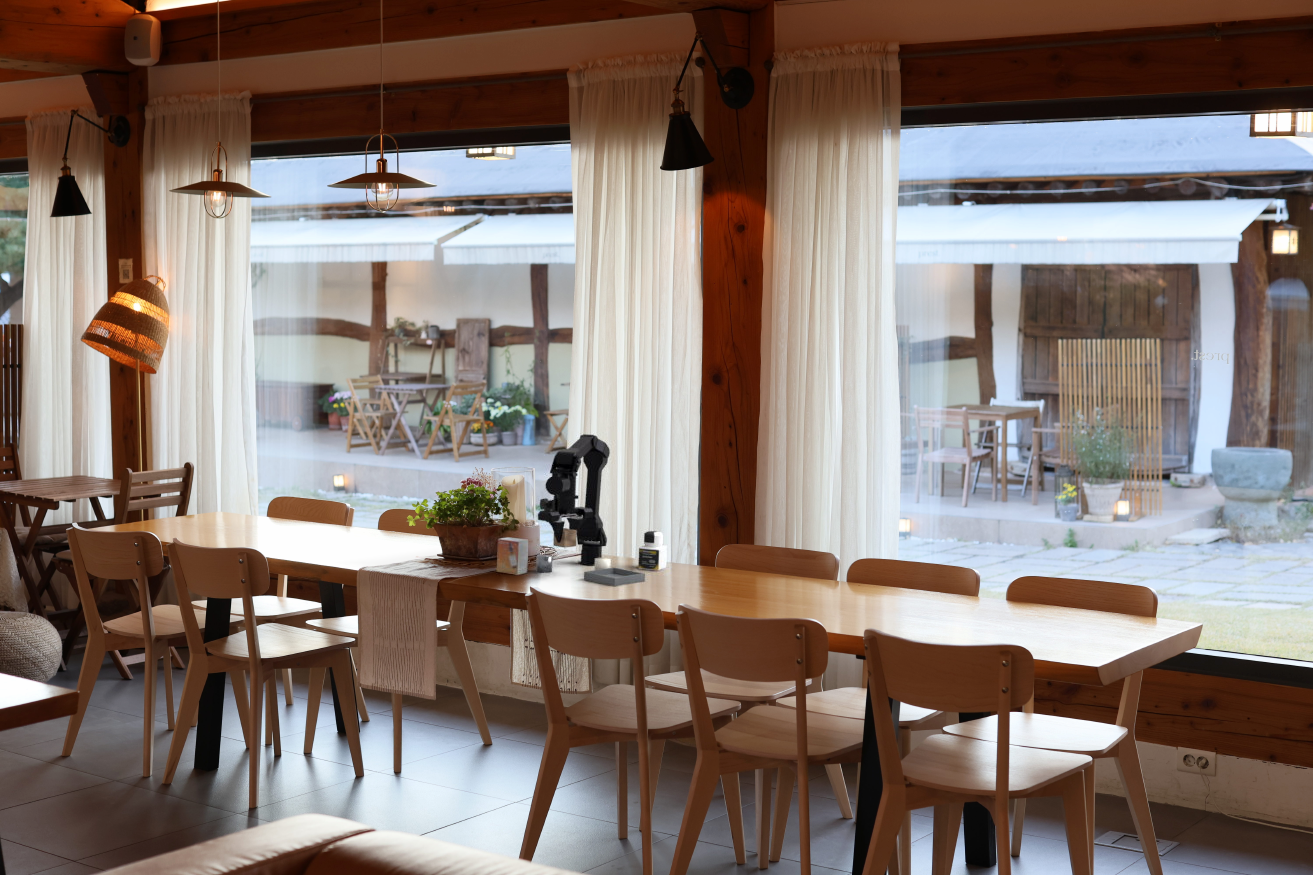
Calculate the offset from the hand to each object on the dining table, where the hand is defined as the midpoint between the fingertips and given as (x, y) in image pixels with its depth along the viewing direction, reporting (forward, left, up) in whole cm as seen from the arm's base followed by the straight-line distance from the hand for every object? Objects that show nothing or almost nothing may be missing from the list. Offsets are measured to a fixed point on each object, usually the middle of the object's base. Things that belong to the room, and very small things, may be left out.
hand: (564, 541), depth 399 cm
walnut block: (0, 0, -1) cm, 1 cm away
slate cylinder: (0, -9, -11) cm, 14 cm away
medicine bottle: (-32, +8, -11) cm, 35 cm away
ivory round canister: (-11, +6, -11) cm, 16 cm away
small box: (+9, -14, -11) cm, 20 cm away
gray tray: (-7, +15, -11) cm, 20 cm away
